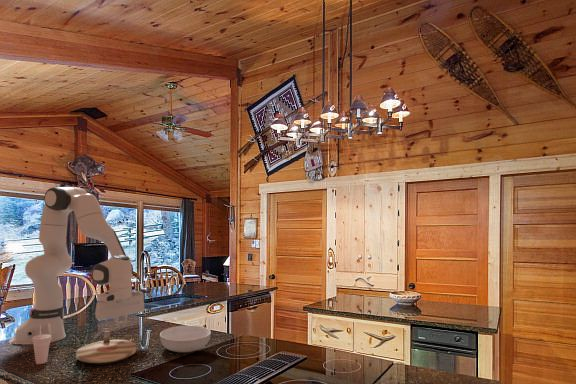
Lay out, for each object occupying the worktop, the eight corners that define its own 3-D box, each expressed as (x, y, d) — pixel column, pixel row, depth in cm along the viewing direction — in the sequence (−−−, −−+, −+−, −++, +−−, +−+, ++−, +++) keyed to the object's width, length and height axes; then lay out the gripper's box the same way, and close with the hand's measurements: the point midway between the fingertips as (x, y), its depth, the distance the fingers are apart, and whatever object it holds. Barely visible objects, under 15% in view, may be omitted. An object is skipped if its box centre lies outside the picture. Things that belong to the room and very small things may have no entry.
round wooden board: (139, 357, 164) (139, 343, 164) (74, 366, 155) (75, 351, 155) (134, 340, 184) (134, 327, 184) (77, 347, 175) (77, 333, 175)
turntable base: (84, 367, 159) (84, 363, 159) (85, 353, 173) (85, 349, 173) (130, 361, 165) (130, 357, 165) (127, 348, 180) (127, 344, 180)
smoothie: (36, 359, 166) (37, 323, 167) (54, 359, 167) (54, 322, 167) (28, 365, 160) (29, 327, 160) (46, 365, 161) (46, 327, 161)
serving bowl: (185, 361, 165) (185, 343, 166) (148, 351, 177) (148, 334, 177) (221, 346, 183) (221, 330, 183) (185, 337, 194) (185, 322, 194)
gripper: (140, 288, 192) (140, 319, 192) (93, 296, 177) (93, 330, 177) (147, 290, 188) (147, 322, 187) (100, 298, 173) (100, 333, 172)
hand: (120, 326), depth 182 cm, fingers closed
